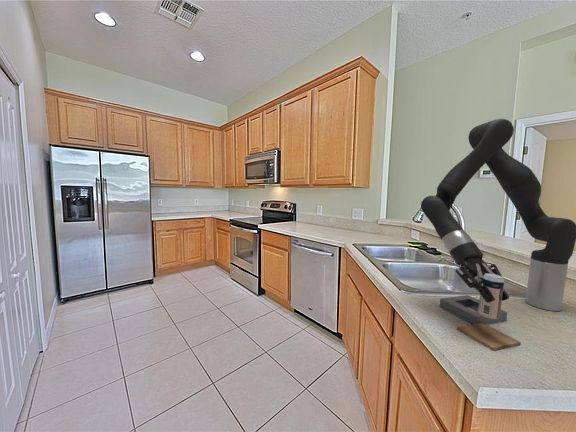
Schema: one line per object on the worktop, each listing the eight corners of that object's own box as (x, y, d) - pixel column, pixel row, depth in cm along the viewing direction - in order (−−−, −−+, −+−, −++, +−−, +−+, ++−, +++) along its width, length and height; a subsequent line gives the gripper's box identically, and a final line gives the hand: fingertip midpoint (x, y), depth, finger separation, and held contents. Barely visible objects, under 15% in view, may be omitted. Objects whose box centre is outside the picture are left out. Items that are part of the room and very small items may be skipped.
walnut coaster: (482, 325, 74) (482, 322, 74) (520, 345, 64) (520, 342, 64) (457, 329, 71) (457, 326, 71) (493, 350, 62) (493, 347, 62)
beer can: (503, 321, 64) (509, 279, 63) (484, 319, 65) (489, 277, 64) (492, 312, 69) (497, 273, 68) (474, 310, 70) (478, 271, 69)
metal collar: (467, 302, 89) (467, 295, 89) (506, 321, 76) (507, 312, 76) (439, 306, 86) (440, 298, 85) (476, 326, 73) (477, 316, 73)
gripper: (452, 241, 70) (490, 298, 60) (487, 240, 74) (530, 293, 64) (435, 254, 76) (468, 307, 66) (469, 252, 80) (505, 302, 69)
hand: (498, 300), depth 65 cm, fingers closed on beer can, 4 cm apart
